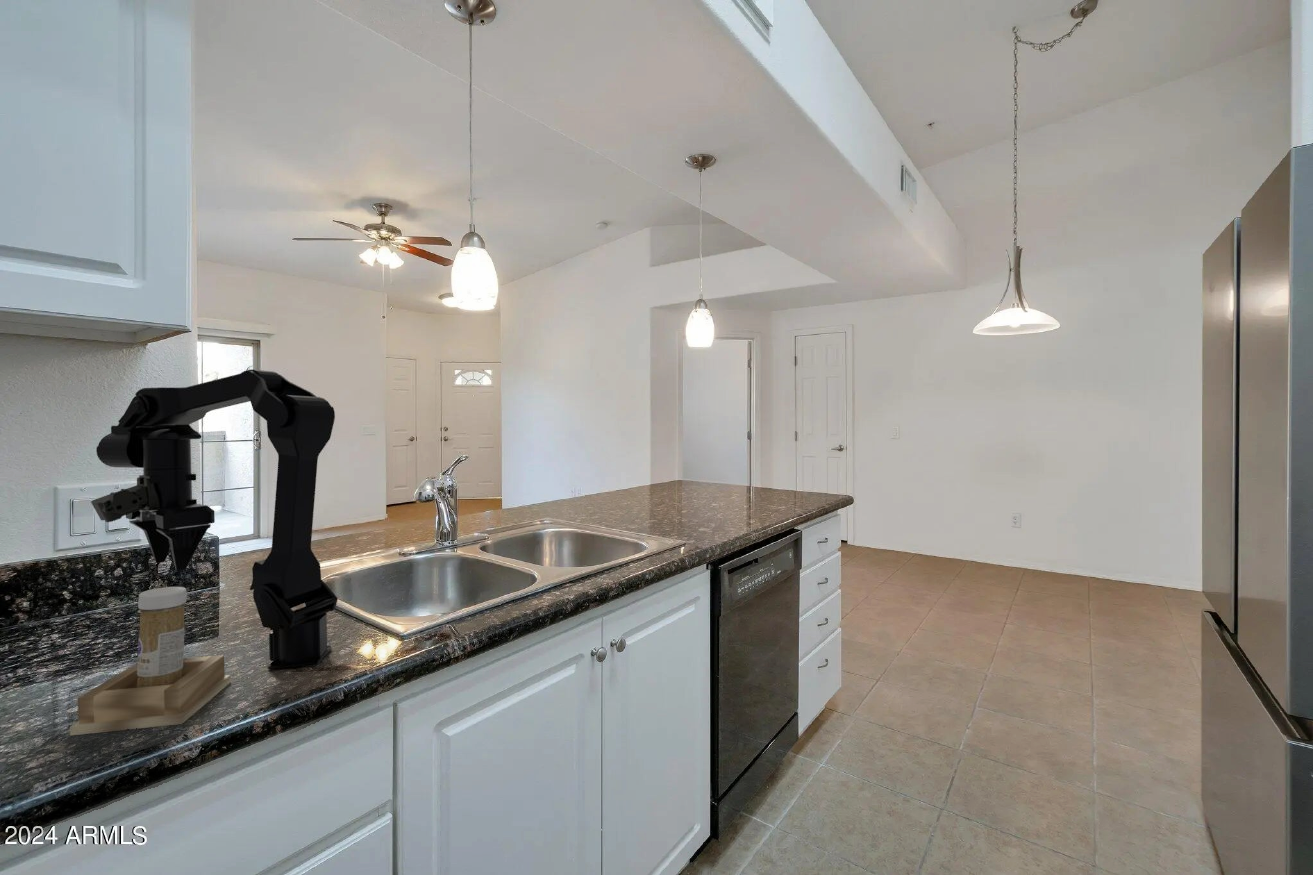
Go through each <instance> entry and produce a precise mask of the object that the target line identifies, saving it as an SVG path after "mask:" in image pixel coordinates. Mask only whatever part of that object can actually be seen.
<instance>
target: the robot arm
mask: <svg viewBox="0 0 1313 875" xmlns="http://www.w3.org/2000/svg"><path fill="white" fill-rule="evenodd" d="M134 395H135V396H134V397H133V398H132V399H131V401H130V403H129V405H128V406H127V408H126V410H125V412H124V414H123V415H122V416H121V418H119V420H118V424H117V425H111V427H110V433H107V434H106V435H104V436H103V437H102V438H101V439H100V441H99V443H98V445H97V446H96V456H97V458H98V460H100V461H101V463H102V464H104V465H105V466H108V467H111V468H130V469H131V468H134V469H135V468H136V469H137V468H140V469H143V470H142V472H143V474H139V476H138V477H137V478H136V485H134V486H131V487H128V488H120V490H117V491H115V492H114V491H113V492H110V493H109V494H106V495H103V496H101V497H98V498H95V499H92V500H91V501H90V504H91V505H92V506H93V509H94V510H95V512H96V513H97V516H98V517H99V519H100V521H104V522H105V523H111V522H115V521H117V520H120V519H122V517H124V516H125V519H127V520H129V521H128V522H129V523H130V524H132V525H133V526H135V527H137V528H139V529H140V530H142V532H143V533H144V535H145V537H146V540H147V543H148V546H149V548H150V550H151V551H150V552H151V554H152V555H153V559H154V561H155V564H160V563H165V562H166V560H167V557H168V555H169V553H170V551H171V556H172V561H173V564H174V568H175V571H177V572H180V571H185V570H186V569H187V568H188V566H189V564H190V562H191V559H192V558H193V556H194V554H195V552H196V550H197V549H198V546H199V545H200V542H201V541H202V539H203V538H204V536H205V535H206V533H207V531H208V529H210V528H211V526H212V525H211V524H215V522H216V520H215V516H216V515H215V510H214V509H213V508H211V507H210V506H208V505H205V504H201V503H198V502H197V500H198V499H196V498H193V487H192V486H193V485H192V484H193V483H192V482H193V481H197V474H196V473H193V472H192V454H191V452H192V451H191V450H192V448H191V442H192V441H191V440H200V439H202V435H201V434H200V433H199V432H198V431H196V430H195V429H193V427H192V426H191V425H192V424H193V423H195V422H198V421H200V420H202V419H204V418H205V417H206V415H207V413H209V412H211V411H212V412H213V411H216V410H219V409H223V408H228V407H231V406H236V405H237V406H238V405H240V404H245V403H249V402H250V404H251V408H252V411H254V412H255V413H256V414H258V416H260V417H262V418H263V419H264V420H265V421H266V428H267V429H266V431H267V437H268V439H269V441H270V442H271V444H272V446H273V448H274V450H275V451H276V452H277V455H278V457H277V458H278V460H277V473H276V474H277V475H276V489H275V497H274V498H275V501H274V512H273V513H274V514H273V525H272V526H273V530H272V538H271V539H272V541H271V550H270V552H269V553H268V555H267V557H266V558H265V559H262V560H258V561H257V560H256V561H254V563H253V564H252V565H253V566H252V568H251V570H252V581H251V585H250V587H249V590H250V591H253V592H252V599H253V602H254V604H255V607H256V611H257V613H258V616H259V619H260V622H261V626H262V627H263V628H268V629H269V630H270V631H271V632H269V634H268V646H269V647H268V650H269V651H268V653H269V656H268V658H269V661H270V663H269V664H268V665H267V669H268V670H276V669H278V670H279V669H289V668H301V667H310V666H311V667H312V666H317V665H319V664H320V662H321V661H322V660H323V659H324V658H325V657H326V656H327V655H328V653H329V652H331V650H332V645H328V624H327V623H328V622H327V620H328V617H327V616H328V614H327V613H329V612H333V611H335V610H336V607H337V603H338V600H339V599H338V597H337V595H336V594H335V593H334V592H333V591H332V590H331V588H330V587H329V586H328V585H327V584H326V582H325V581H323V579H322V575H321V574H322V573H321V570H322V569H321V564H320V561H319V560H318V559H317V557H316V556H315V554H314V552H313V550H312V538H313V537H312V535H313V524H314V510H315V498H316V497H315V496H316V484H317V474H318V473H317V472H318V459H319V456H320V454H321V452H322V451H323V450H324V448H325V447H326V446H327V444H328V443H329V441H330V439H331V436H332V432H333V430H334V429H333V428H334V424H335V420H336V419H335V418H336V414H335V413H336V412H335V409H334V406H332V405H331V404H330V403H329V401H328V400H326V399H325V398H324V397H320V396H317V395H315V394H314V393H313V392H311V391H309V390H307V389H306V388H305V389H304V388H303V387H301V386H299V385H297V384H295V383H293V382H291V381H289V380H288V379H287V378H285V376H282V375H281V374H279V373H278V372H276V371H271V370H264V369H263V370H262V369H261V370H260V369H247V370H244V371H241V372H240V373H237V374H234V375H229V376H226V377H220V378H219V379H214V380H210V381H206V382H202V383H198V384H194V385H193V384H192V385H190V386H186V387H184V386H183V387H142V388H140V389H139V390H138V391H136V392H135V394H134ZM303 604H304V605H305V606H303V607H299V608H297V609H295V610H293V608H295V607H298V606H301V605H303Z"/></svg>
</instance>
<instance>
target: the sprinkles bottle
mask: <svg viewBox="0 0 1313 875" xmlns="http://www.w3.org/2000/svg"><path fill="white" fill-rule="evenodd" d="M187 599H188V598H187V588H185V587H184V586H168V587H157V588H153V589H148V590H144V591H142V592H140V593H139V594H138V604H137V607H138V610H139V613H140V616H139V636H138V648H137V662H138V665H137V675H138V679H137V688H140V687H151V686H162V685H172V684H174V683H175V682H176V681H178V680H179V679H180V678H182V667H183V658H184V654H185V653H184V652H185V650H184V649H185V606H186V603H187Z"/></svg>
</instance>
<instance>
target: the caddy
mask: <svg viewBox="0 0 1313 875" xmlns="http://www.w3.org/2000/svg"><path fill="white" fill-rule="evenodd" d="M137 665H138V661H137V662H136V663H134V664H132V665H131V666H130V667H127V668H126V669H124V670H123V671H121V672H119V673H117V674H115V676H113V677H111V678H110V679H108V680H106V681H104V682H103V683H101V684H99V685H97V686H96V687H94V688H92V689H91V690H90V691H88V692H85V694H83V695H82V696H79V697H78V698H77V716H78V718H77V720H78V721H77V722H75V723H74V724H72V725H70V727H69V736H70V737H71V736H79V735H80V736H81V735H89V734H90V733H91V734H100V733H107V732H108V733H110V732H116V731H117V732H118V731H127V729H129V730H137V729H146V728H148V729H149V728H155V727H165V726H174V725H182V724H184V723H185V722H187V720H189V719H190V718H191V717H192V716H193V715H194V714H196V713H197V712H198V711H199V710H201V708H202V707H204V706H205V705H206V704H207V703H208V702H209V701H210V700H212V699H213V698H214V697H215V696H216V695H217V694H219V693H220V692H221V691H222V690H223V689H225V688H226V687H227V686H228V685H229V684H230V683H232V674H226V675H225V654H220V655H209V656H207V655H206V656H198V657H197V656H196V657H187V658H184V657H183V667H182V678H180V679H179V680H178V681H176V682H175V683H174V684H172V685H162V686H151V687H140V688H137V679H138V675H137ZM136 728H137V729H136Z"/></svg>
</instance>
